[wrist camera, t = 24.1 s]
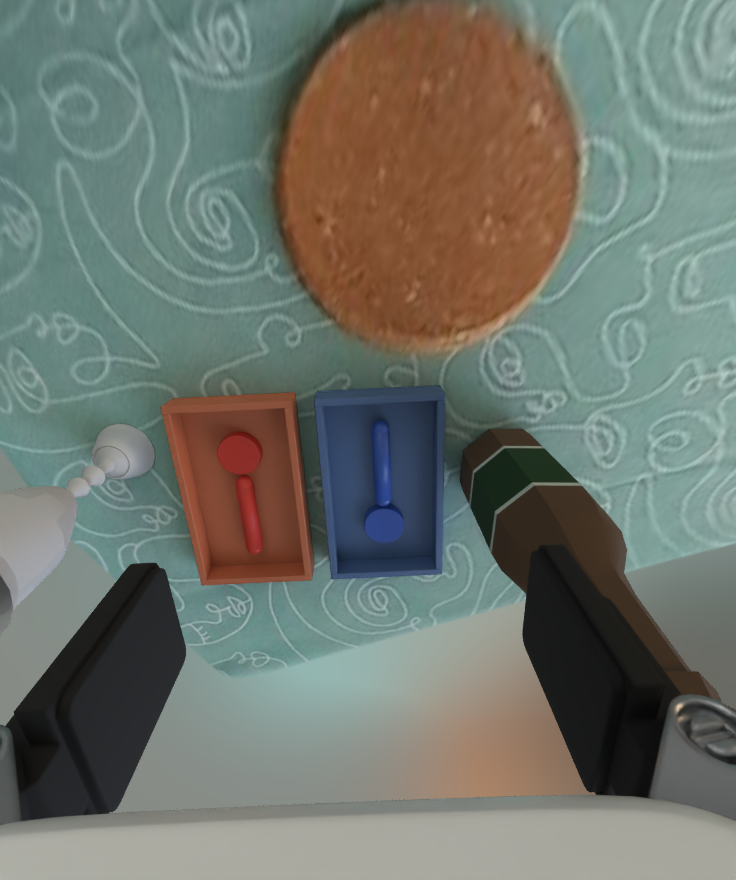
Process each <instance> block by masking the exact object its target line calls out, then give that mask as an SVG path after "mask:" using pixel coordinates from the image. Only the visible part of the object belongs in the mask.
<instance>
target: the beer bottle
mask: <svg viewBox="0 0 736 880" xmlns="http://www.w3.org/2000/svg"><path fill="white" fill-rule="evenodd" d="M460 483H461V486H462V489H463V492H464V494H465V496H466V498H467V500H468V503H469V505H470V507H471V509H472V512H473V514H474V516H475V518H476V520H477V523H478V525H479V527H480V529H481V531H482V534H483V536H484V538H485V540H486V543H487V545H488V547H489V549H490V551H491V554H492V555H493V557H494V559H495V560H496V562H497V564H498V565H499V567H500V569H501V570H502V571H503V572H504V573H505V574H506V575H507V576H508V577H509V578H510V579H511V580H512V581H513V582H514V583H515V584H517V585H518V586H519V587H520V588H521V589H522V590H523V591H524V592H525V593H526V594H527V585H528V575H529V566H530V557H531V553H532V551H537V549H538V547H539V546H540V545H549V544H564V545H565V546H566V547H567V549H568V550H569V551H570V553H571V554H572V555H573V557H574V558H575V560H576V561H577V562H578V564H579V565H580V566H581V568H582V569H583V571H584V572H585V573H586V575H587V576H588V577H589V579H590V580H591V582H592V583H593V584H594V586H595V587H596V588H597V590H598V591H599V593H600V594H601V595H602V597H604V596H605V597H607V598H609V599H610V600H611V601H612V602H613V603H614V604H615V606H616V607H617V608H618V610H619V611H620V612H621V614H622V615H623V616H624V618H625V619H626V620H627V622H628V623H629V624H630V626H631V627H632V628H633V630H634V631H635V632H636V634H637V635H638V636H639V638H640V639H641V640H642V642H643V643H644V644H645V646H646V647H647V648H648V650H649V651H650V652H651V654H652V655H653V656H654V658H655V659H656V660H657V662H658V663H659V664H660V666H661V667H662V668H663V670H664V671H665V672H666V674H667V675H668V676H669V678H670V679H671V680H672V682H673V683H674V684H675V686H676V687H677V688H678V690H679V691H680V692H681V694H682V695H688V694H694V695H701V696H706V697H709V698H711V699H714V700H717V701H720V702H722V701H721V699H720V697H719V695H718V692H717V691H716V690H715V689H714V688H713V687H712V686H711V685H710V683H708V681H707V680H706V679H705V678H704V677H703V676H702V675H701V674H700V673H699V672H694V671H691V670H690V669H689V667H688V666H687V665H686V663H685V662H684V661H683V659H682V658H681V656H680V655H679V654H678V652H677V651H676V650H675V648H674V647H673V645H672V644H671V643H670V641H669V640H668V639H667V637H666V636H665V634H664V633H663V632H662V631H661V629H660V628H659V626H658V625H657V623H656V622H655V621H654V619H653V618H652V617H651V616H650V614H649V613H648V611H647V610H646V608H645V607H644V606H643V605H642V603H641V601H640V600H639V599H638V597H637V596H636V595H635V593H634V591H633V589H632V587H631V585H630V583H629V581H628V580H627V578H626V576H625V574H624V569H625V561H626V553H627V549H626V545H625V542H624V539H623V535H622V532H621V530H620V529H619V528H618V527H617V526H616V524H615V523H614V522H613V521H612V519H611V518H610V517H609V516H608V514H607V513H606V512H605V511H604V510H603V509H602V508H601V507H600V505H599V504H598V503H597V502H596V501H595V500H594V499H593V498H592V497H591V495H590V494H589V493H588V492H587V491H586V490H585V489H584V488H583V486H582V485H581V484H580V483H579V482H578V481H577V480H576V479H575V478H574V477H573V476H572V475H571V474H570V473H569V472H568V471H567V470H566V469H565V468H563V467H562V466H561V465H560V464H559V463H558V462H557V461H556V460H555V459H554V458H553V457H552V456H551V455H550V454H549V453H548V452H547V451H546V450H545V449H544V448H543V447H542V446H541V445H540V444H539V443H538V442H537V441H536V440H535V439H534V438H533V437H532V436H531V435H530V434H529V433H527V432H526V431H525V430H524V429H488V430H487V431H486V432H485V433H483V434H482V435H481V436H480V437H479V438H477V439H476V440H475V441H474V442H473V443H472V444H470V445H469V446H468V447H467V448H466V449H464V450H463V455H462V465H461V475H460Z"/></svg>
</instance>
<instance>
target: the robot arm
mask: <svg viewBox="0 0 736 880" xmlns="http://www.w3.org/2000/svg"><path fill="white" fill-rule="evenodd" d="M523 642H524V646H525V648H526V651H527V653H528V655H529V658H530V660H531V662H532V665H533V667H534V670H535V672H536V674H537V677H538V679H539V681H540V684H541V686H542V688H543V691H544V693H545V695H546V698H547V700H548V702H549V704H550V707H551V709H552V712H553V714H554V716H555V719H556V721H557V723H558V725H559V728H560V731H561V732H562V735H563V738H564V740H565V742H566V745H567V747H568V749H569V752H570V754H571V756H572V759H573V761H574V763H575V765H576V768H577V770H578V773H579V775H580V777H581V780H582V782H583V784H584V786H585V788H586V789H587V791H589V792H595V793H596V795H559V796H558V795H553V796H552V795H551V796H506V797H505V796H504V797H475V798H447V799H419V800H392V801H366V802H341V803H316V804H295V805H294V804H293V805H269V806H246V807H225V808H204V809H183V810H164V811H141V812H125V813H109V812H113V811H115V810H116V809H117V807H118V806H119V804H120V802H121V800H122V798H123V796H124V793H125V791H126V789H127V787H128V785H129V782H130V780H131V778H132V776H133V774H134V771H135V769H136V767H137V765H138V763H139V760H140V758H141V756H142V754H143V751H144V749H145V747H146V745H147V743H148V740H149V738H150V736H151V734H152V732H153V730H154V727H155V725H156V723H157V721H158V719H159V716H160V714H161V712H162V710H163V708H164V705H165V703H166V701H167V699H168V697H169V695H170V692H171V690H172V688H173V686H174V684H175V681H176V679H177V677H178V675H179V672H180V670H181V668H182V666H183V663H184V661H185V657H186V646H185V642H184V638H183V635H182V631H181V627H180V623H179V620H178V616H177V612H176V608H175V605H174V601H173V597H172V593H171V589H170V586H169V582H168V578H167V574H166V572H165V570H164V569H163V568H159V566H158V565H157V563H138V564H131V565H130V566H129V567H128V568H127V569H126V570H125V571H124V573H123V574H122V575H121V576H120V578H119V579H118V580H117V582H116V583H115V584H114V586H113V587H112V588H111V589H110V590H109V592H108V593H107V594H106V596H105V597H104V598H103V599H102V601H101V602H100V603H99V604H98V606H97V607H96V608H95V609H94V611H93V612H92V613H91V615H90V616H89V617H88V619H87V620H86V621H85V622H84V624H83V625H82V626H81V627H80V629H79V630H78V631H77V633H76V634H75V635H74V636H73V638H72V639H71V640H70V641H69V643H68V644H67V645H66V646H65V648H64V649H63V650H62V651H61V653H60V654H59V655H58V657H57V658H56V659H55V660H54V662H53V663H52V664H51V665H50V667H49V668H48V669H47V670H46V672H45V673H44V674H43V675H42V677H41V678H40V680H39V681H38V682H37V683H36V684H35V686H34V687H33V688H32V689H31V691H30V692H29V693H28V694H27V696H26V697H25V698H24V700H23V701H22V702H21V703H20V705H19V706H18V707H17V708H16V710H15V711H14V716H13V717H12V718H11V720H10V721H9V722H8V723H7V725H6V726H3V725H0V880H736V710H735V709H733V708H730V707H729V706H727V705H725V704H724V703H722V702H720V701H717V700H714V699H711V698H709V697H706V696H701V695H694V694H688V695H682V694H681V692H680V691H679V690H678V688H677V687H676V686H675V684H674V683H673V682H672V680H671V679H670V678H669V676H668V675H667V674H666V672H665V671H664V670H663V668H662V667H661V666H660V664H659V663H658V662H657V660H656V659H655V658H654V656H653V655H652V654H651V652H650V651H649V650H648V648H647V647H646V646H645V644H644V643H643V642H642V640H641V639H640V638H639V636H638V635H637V634H636V632H635V631H634V630H633V628H632V627H631V626H630V624H629V623H628V622H627V620H626V619H625V618H624V616H623V615H622V614H621V612H620V611H619V610H618V608H617V607H616V606H615V604H614V603H613V602H612V601H611V600H610V599H609V598H607V597H605V596H604V597H602V595H601V594H600V593H599V591H598V590H597V588H596V587H595V586H594V584H593V583H592V582H591V580H590V579H589V577H588V576H587V575H586V573H585V572H584V571H583V569H582V568H581V566H580V565H579V564H578V562H577V561H576V560H575V558H574V557H573V555H572V554H571V553H570V551H569V550H568V549H567V547H566V546H565V545H564V544H549V545H540V546H539V547H538V549H537V551H532V553H531V557H530V566H529V575H528V585H527V594H526V604H525V613H524V623H523Z"/></svg>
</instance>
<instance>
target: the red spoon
mask: <svg viewBox="0 0 736 880" xmlns="http://www.w3.org/2000/svg"><path fill="white" fill-rule="evenodd" d="M217 456H218V460H219V462H220V464H221V465H222V466H223V467H224V468H225V469H226V470H227V471H229V472H231V473H234V474H240V475H242V474H248V473H250V472H252V471H253V470H255V469H256V468H257V466H258V465H259V463H260V461H261V458H262V448H261V445H260V443H259V442H258V440H257V439H256V438H255V437H253V436H252V435H250V434H248V433H245V432H234V433H231V434H229V435H227V436H226V437H225V438H224V439H223V440H222V441H221V443H220V444H219V446H218V450H217ZM235 486H236V492H237V498H238V503H239V509H240V514H241V520H242V526H243V531H244V537H245V542H246V548H247V551H248V552H249V553H250V554H258V553H260V552H261V551H262V549H263V541H262V535H261V528H260V522H259V516H258V510H257V504H256V497H255V491H254V485H253V480H252V479H251V478H250V477H249V476H245V475H243V476H240V477H239V478H238V479H237V480H236V482H235Z"/></svg>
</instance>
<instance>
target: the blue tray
mask: <svg viewBox="0 0 736 880" xmlns="http://www.w3.org/2000/svg"><path fill="white" fill-rule="evenodd" d="M314 405H315V416H316V426H317V436H318V447H319V457H320V467H321V478H322V488H323V498H324V509H325V519H326V529H327V540H328V550H329V560H330V571H331V579H348V578H370V577H392V576H414V575H436V574H442V551H443V493H444V435H445V392H444V391H443V389H442V388H441V386H440V385H433V386H413V387H393V388H373V389H352V390H332V391H317V393H316V396H315V399H314ZM379 420H382V421H385V422H386V423H387V424H388V425H389V429H390V460H391V492H392V499H391V502H390V503H389V504H391V505H394V506H395V507H397V508H398V509H399V510H400V511H401V513H402V515H403V519H404V530H403V532H402V534H401V535H400V537H399V538H397V539H396V540H394V541H392V542H388V543H380V542H376V541H374V540H372V539H371V538H370V537H369V536H368V535H367V534H366V532H365V528H364V519H365V515H366V513H367V511H368V510H369V509H370V508H372V507H373V506H375V505H377V503H376V501H375V494H374V473H373V452H372V431H371V429H372V425H373V424H374V423H375V422H376V421H379Z"/></svg>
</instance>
